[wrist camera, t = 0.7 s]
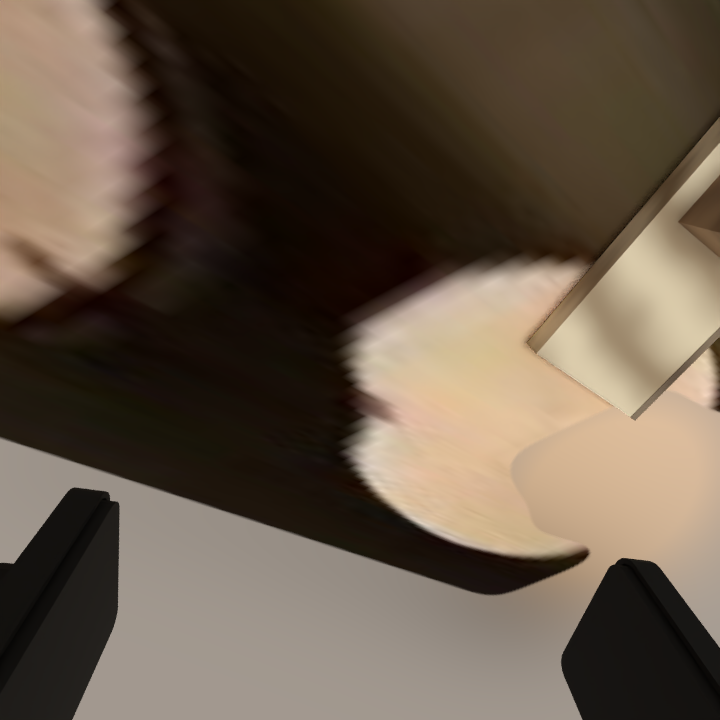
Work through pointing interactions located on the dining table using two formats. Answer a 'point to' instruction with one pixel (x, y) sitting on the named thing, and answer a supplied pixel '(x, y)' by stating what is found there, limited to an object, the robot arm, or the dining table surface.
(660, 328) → the board
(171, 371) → the dining table surface
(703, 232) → the mallet
